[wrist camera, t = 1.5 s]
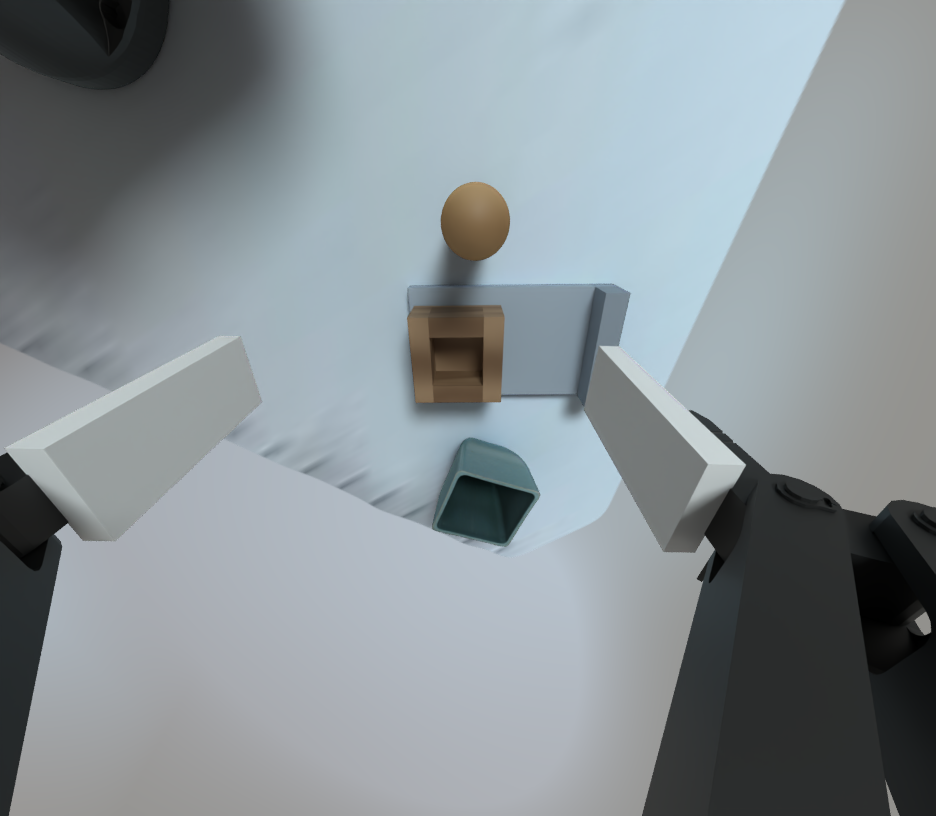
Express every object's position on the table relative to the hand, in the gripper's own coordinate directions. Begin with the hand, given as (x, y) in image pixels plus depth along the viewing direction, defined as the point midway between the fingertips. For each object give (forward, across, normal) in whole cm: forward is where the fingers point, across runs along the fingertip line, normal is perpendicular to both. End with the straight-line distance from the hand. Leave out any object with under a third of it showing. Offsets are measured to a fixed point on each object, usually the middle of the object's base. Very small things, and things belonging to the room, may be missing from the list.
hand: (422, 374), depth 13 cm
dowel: (+21, +2, +5) cm, 22 cm away
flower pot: (+21, +4, -21) cm, 30 cm away
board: (+21, +6, -6) cm, 23 cm away
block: (+20, +1, -6) cm, 21 cm away
